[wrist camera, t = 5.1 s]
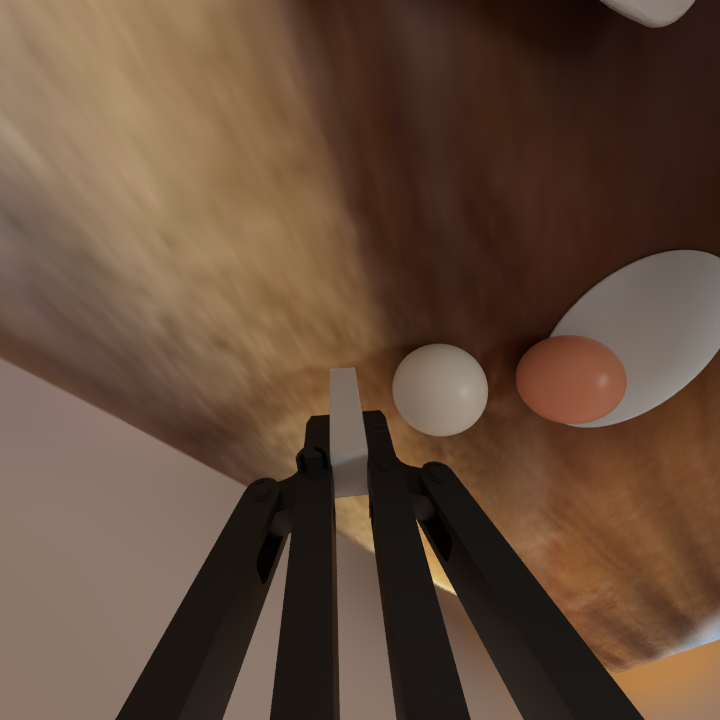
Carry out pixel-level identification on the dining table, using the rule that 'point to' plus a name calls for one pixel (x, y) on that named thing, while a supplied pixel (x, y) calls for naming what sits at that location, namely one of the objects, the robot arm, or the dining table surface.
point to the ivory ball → (440, 390)
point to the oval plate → (652, 325)
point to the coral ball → (571, 379)
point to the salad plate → (650, 10)
